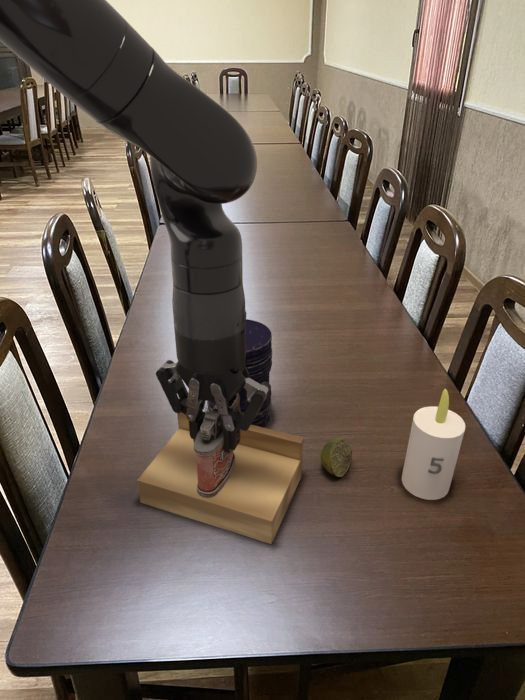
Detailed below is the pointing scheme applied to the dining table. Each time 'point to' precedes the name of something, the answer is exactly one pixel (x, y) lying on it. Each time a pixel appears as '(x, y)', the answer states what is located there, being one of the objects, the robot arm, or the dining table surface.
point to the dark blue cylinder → (256, 367)
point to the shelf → (229, 482)
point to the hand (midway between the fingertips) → (215, 444)
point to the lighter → (212, 456)
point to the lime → (336, 456)
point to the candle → (433, 450)
